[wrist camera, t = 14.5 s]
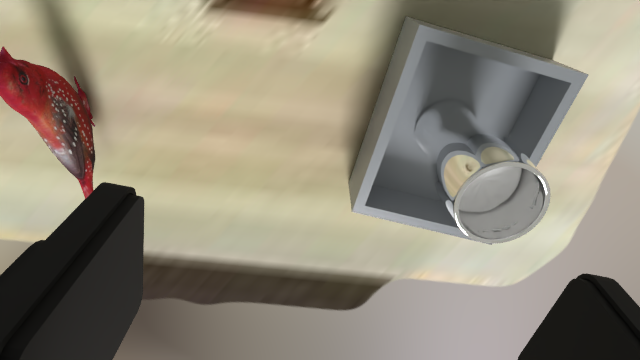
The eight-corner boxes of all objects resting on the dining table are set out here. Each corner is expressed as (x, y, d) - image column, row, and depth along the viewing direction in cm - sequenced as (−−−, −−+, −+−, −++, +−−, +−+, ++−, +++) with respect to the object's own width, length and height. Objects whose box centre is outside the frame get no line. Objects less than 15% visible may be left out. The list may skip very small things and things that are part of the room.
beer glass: (401, 152, 43) (436, 236, 30) (423, 88, 40) (474, 149, 26) (463, 166, 44) (525, 254, 30) (490, 104, 40) (573, 171, 27)
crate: (405, 16, 38) (419, 24, 32) (552, 60, 39) (588, 74, 34) (348, 183, 46) (352, 211, 40) (472, 213, 48) (491, 244, 42)
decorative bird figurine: (74, 30, 38) (0, 49, 30) (135, 193, 47) (91, 247, 38) (44, 33, 39) (-38, 54, 30) (110, 196, 47) (61, 250, 38)
